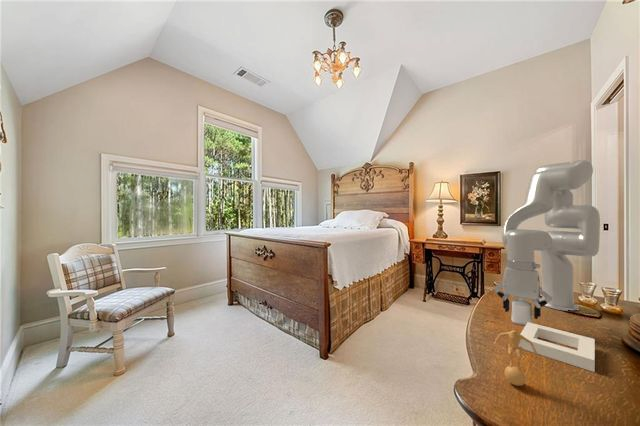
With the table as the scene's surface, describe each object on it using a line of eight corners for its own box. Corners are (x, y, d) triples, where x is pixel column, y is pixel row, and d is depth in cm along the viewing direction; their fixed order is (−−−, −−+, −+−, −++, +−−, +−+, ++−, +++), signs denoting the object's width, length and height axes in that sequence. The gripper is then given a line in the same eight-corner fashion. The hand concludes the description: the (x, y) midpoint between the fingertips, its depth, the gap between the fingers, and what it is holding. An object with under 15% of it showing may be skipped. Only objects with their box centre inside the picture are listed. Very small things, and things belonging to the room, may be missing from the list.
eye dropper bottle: (529, 327, 84) (529, 293, 84) (509, 322, 88) (509, 289, 88) (533, 324, 86) (532, 290, 86) (514, 318, 91) (513, 287, 91)
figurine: (492, 380, 58) (492, 330, 58) (495, 368, 63) (494, 322, 63) (539, 397, 53) (538, 342, 53) (538, 382, 57) (537, 331, 57)
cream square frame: (527, 330, 82) (527, 321, 82) (594, 349, 70) (594, 338, 70) (518, 347, 72) (518, 337, 72) (594, 372, 61) (594, 360, 61)
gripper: (555, 267, 83) (555, 318, 83) (494, 260, 96) (495, 304, 96) (552, 271, 78) (553, 325, 78) (489, 263, 91) (489, 310, 91)
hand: (521, 313), depth 87 cm, fingers open, 7 cm apart
